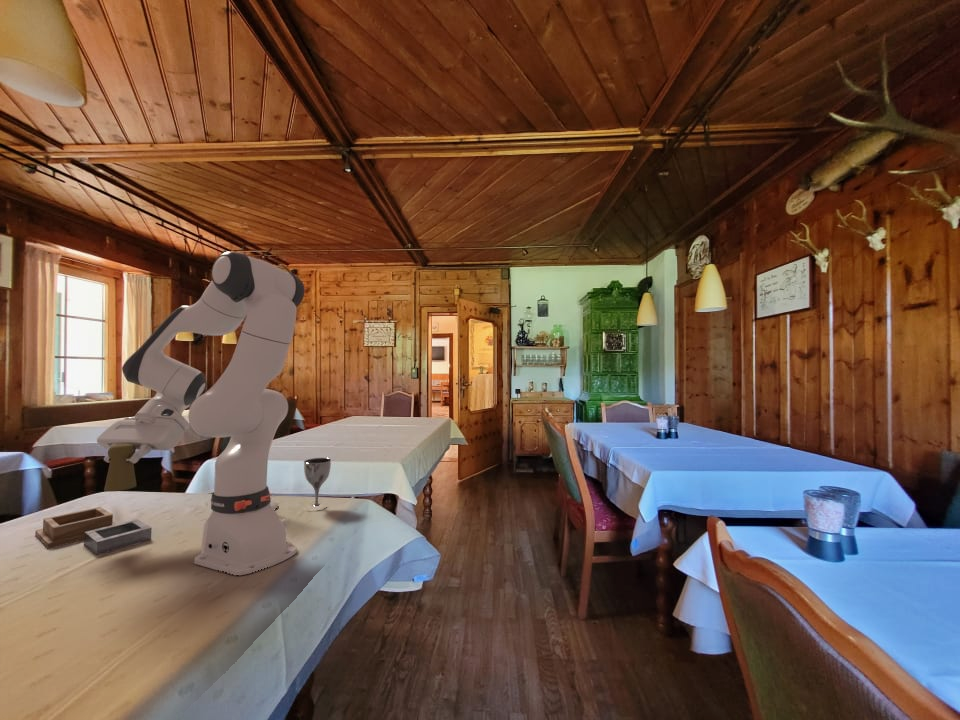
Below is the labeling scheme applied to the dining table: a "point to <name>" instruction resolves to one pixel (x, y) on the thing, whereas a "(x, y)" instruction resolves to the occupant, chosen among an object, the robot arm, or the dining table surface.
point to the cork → (120, 468)
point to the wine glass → (317, 473)
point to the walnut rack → (72, 526)
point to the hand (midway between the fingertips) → (119, 461)
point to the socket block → (117, 536)
